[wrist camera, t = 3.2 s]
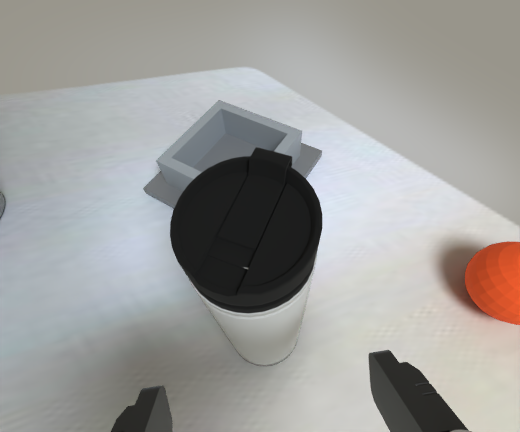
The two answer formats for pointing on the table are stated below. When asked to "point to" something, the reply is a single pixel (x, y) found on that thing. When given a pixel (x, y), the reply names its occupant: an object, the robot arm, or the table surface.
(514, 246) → the clementine
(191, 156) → the mug dock
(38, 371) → the table surface
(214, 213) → the travel mug
